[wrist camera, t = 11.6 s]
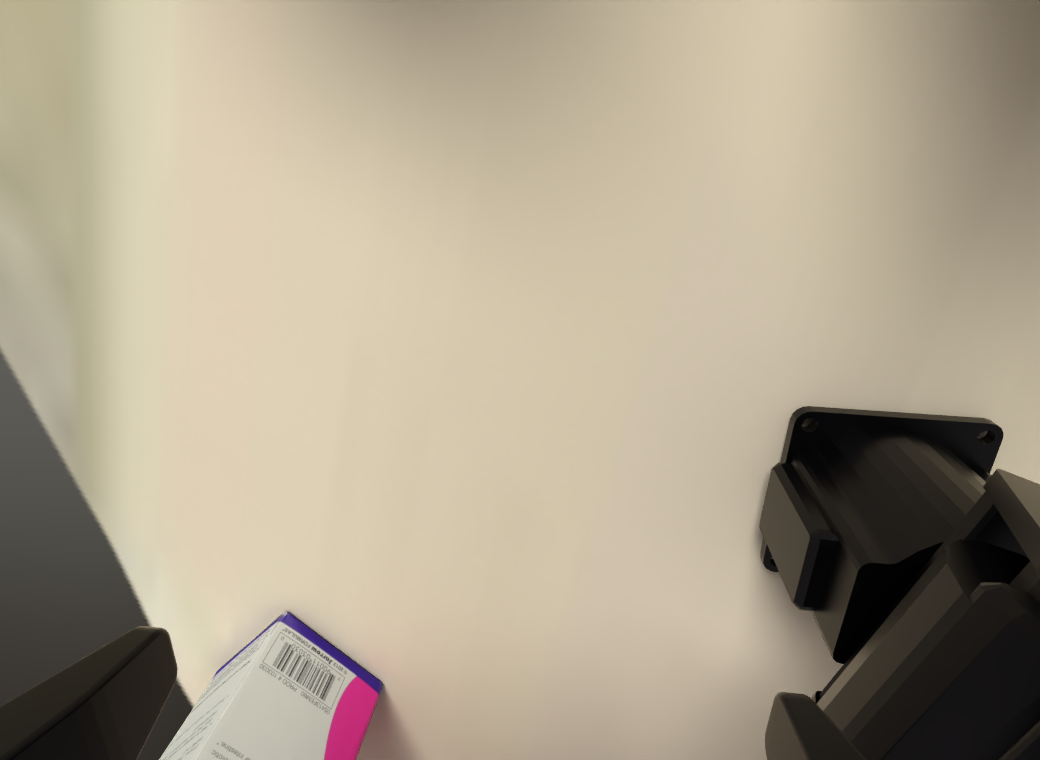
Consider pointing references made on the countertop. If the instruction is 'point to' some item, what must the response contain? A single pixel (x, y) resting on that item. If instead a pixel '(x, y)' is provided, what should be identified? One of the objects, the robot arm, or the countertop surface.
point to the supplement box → (281, 702)
